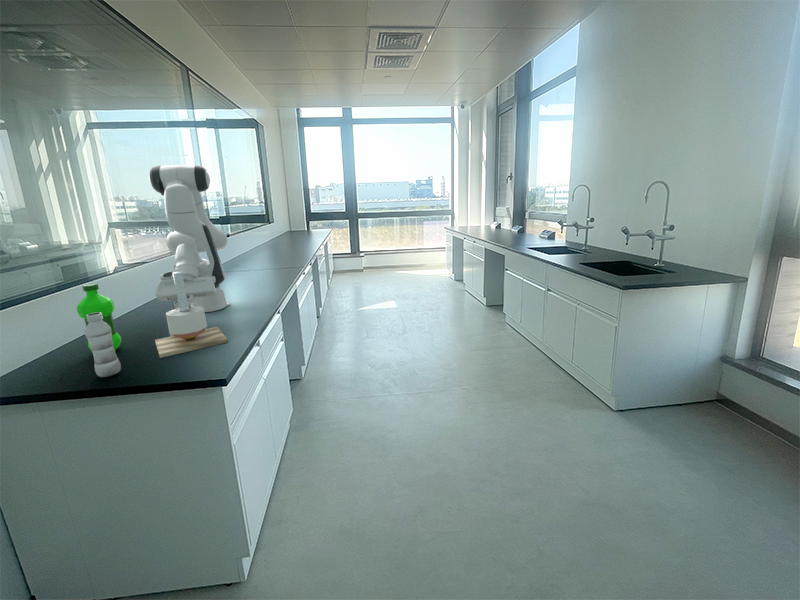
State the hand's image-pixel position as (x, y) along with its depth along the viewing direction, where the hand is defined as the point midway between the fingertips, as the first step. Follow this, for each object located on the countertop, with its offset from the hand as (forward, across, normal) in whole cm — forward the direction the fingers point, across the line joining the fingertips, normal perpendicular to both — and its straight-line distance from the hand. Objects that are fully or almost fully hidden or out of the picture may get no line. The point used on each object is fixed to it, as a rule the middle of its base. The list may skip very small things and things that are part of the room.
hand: (186, 306), depth 148 cm
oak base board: (+12, 0, -7) cm, 14 cm away
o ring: (+9, 0, -4) cm, 10 cm away
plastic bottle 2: (+27, +20, +7) cm, 34 cm away
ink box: (+3, +7, -16) cm, 18 cm away
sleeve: (+8, 0, -3) cm, 9 cm away
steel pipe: (+11, 0, -6) cm, 12 cm away
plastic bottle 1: (+9, +28, -10) cm, 31 cm away
